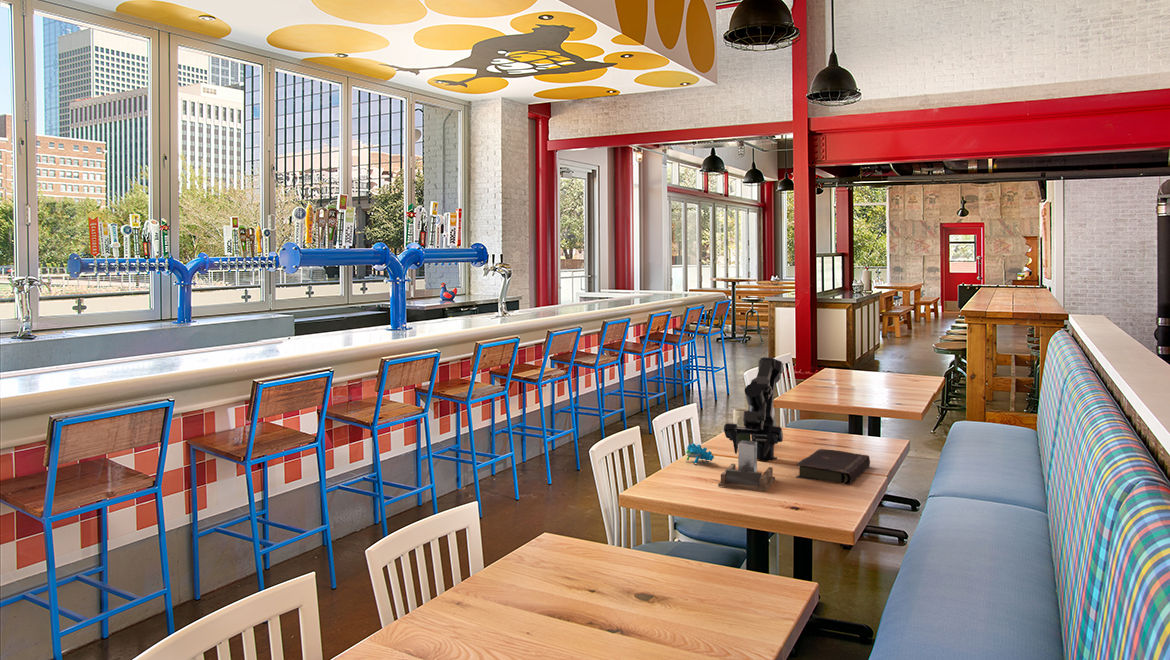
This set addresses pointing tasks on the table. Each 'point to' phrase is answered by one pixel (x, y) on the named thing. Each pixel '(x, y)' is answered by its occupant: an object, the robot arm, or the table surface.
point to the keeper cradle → (746, 478)
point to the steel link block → (747, 455)
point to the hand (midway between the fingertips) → (749, 454)
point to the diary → (833, 466)
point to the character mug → (740, 423)
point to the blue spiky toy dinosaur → (698, 453)
